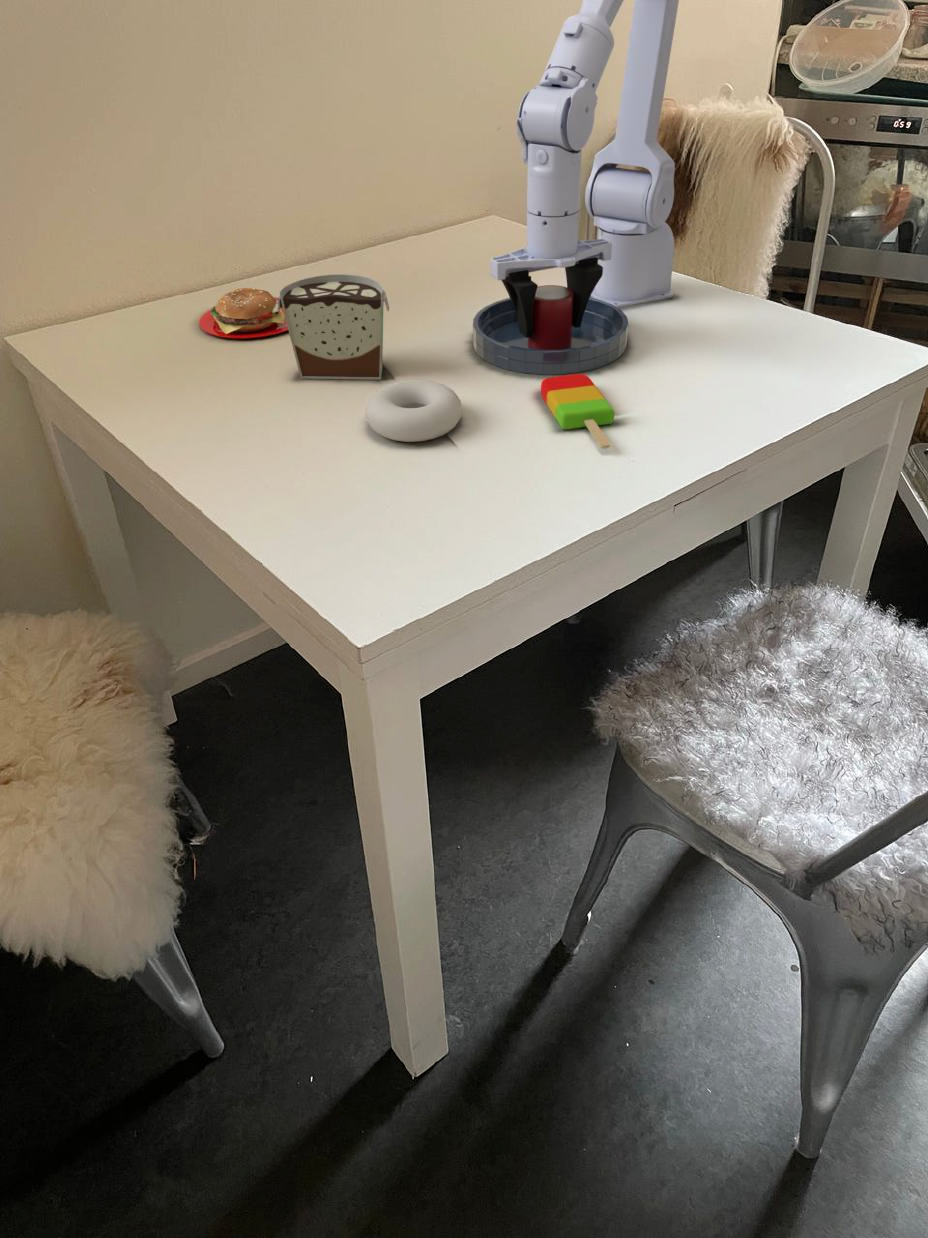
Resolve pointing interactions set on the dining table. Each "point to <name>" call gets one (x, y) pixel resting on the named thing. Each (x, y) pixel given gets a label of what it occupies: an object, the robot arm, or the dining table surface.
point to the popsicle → (578, 404)
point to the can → (552, 318)
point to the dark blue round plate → (588, 350)
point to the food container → (336, 326)
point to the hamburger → (245, 315)
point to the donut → (413, 410)
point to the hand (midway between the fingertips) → (549, 329)
